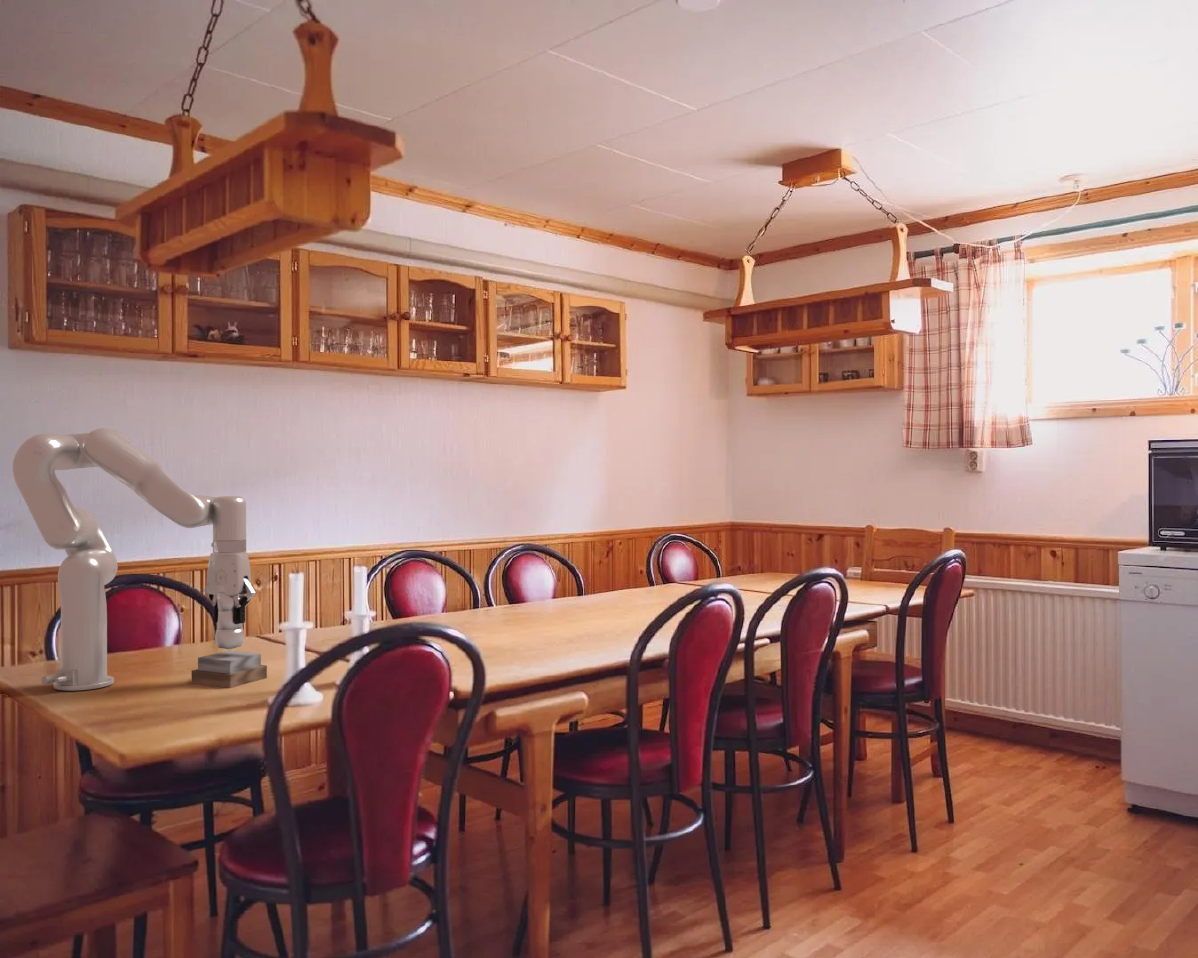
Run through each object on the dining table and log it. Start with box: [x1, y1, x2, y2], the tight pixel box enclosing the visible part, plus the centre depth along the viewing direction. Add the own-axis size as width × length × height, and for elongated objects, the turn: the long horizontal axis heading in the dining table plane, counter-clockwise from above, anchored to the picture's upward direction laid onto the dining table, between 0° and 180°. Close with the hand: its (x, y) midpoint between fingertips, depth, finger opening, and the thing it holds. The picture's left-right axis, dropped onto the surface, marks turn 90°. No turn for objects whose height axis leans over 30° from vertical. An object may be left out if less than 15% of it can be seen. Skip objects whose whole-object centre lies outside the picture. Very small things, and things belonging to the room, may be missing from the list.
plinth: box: [191, 650, 268, 689], centre depth 232 cm, size 12×12×6 cm
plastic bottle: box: [214, 585, 245, 650], centre depth 232 cm, size 6×7×20 cm
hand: (229, 621), depth 232 cm, fingers closed on plastic bottle, 5 cm apart
